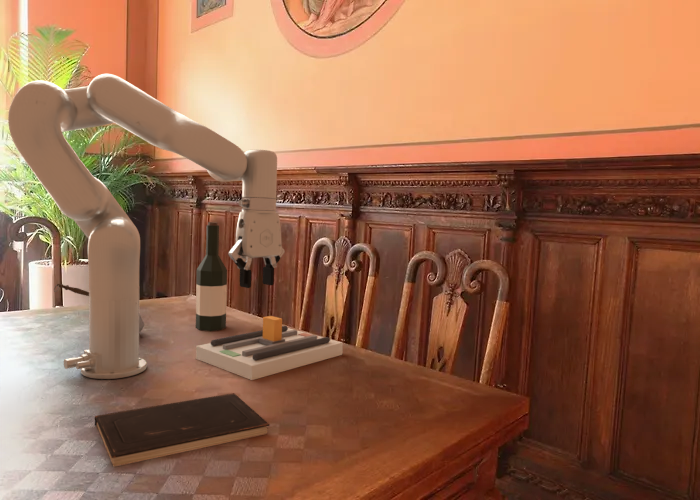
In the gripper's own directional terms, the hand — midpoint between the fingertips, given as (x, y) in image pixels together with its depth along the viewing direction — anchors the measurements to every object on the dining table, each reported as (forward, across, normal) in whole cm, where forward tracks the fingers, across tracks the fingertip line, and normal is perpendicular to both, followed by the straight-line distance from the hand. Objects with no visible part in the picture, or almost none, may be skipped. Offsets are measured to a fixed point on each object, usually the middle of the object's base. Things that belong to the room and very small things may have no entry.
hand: (256, 285), depth 121 cm
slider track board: (+18, +5, 0) cm, 18 cm away
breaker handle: (+14, +5, 0) cm, 15 cm away
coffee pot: (+18, -17, +40) cm, 47 cm away
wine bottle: (+18, +11, +33) cm, 39 cm away
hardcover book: (+18, -32, -21) cm, 42 cm away
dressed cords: (+15, +5, 0) cm, 15 cm away
